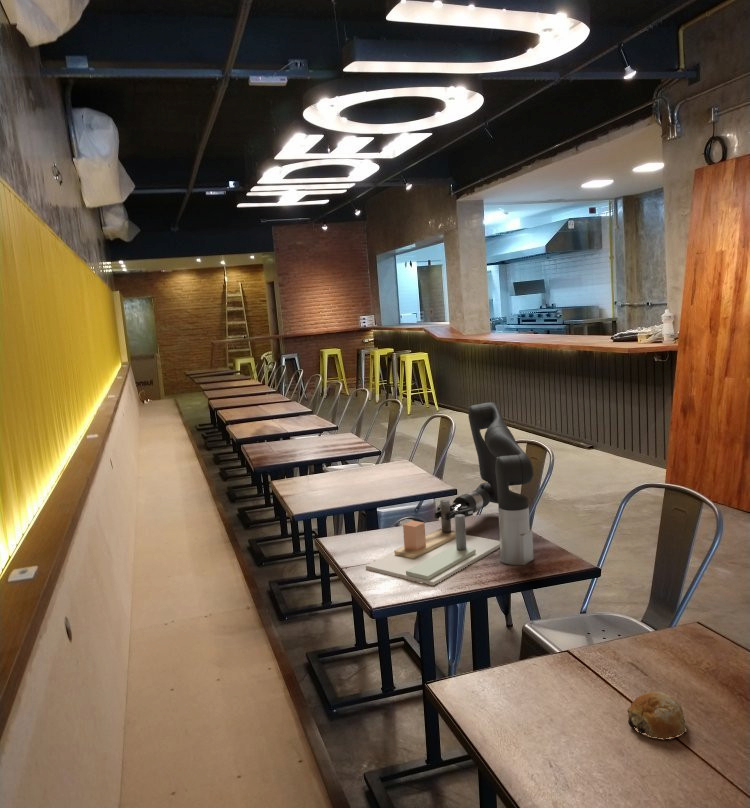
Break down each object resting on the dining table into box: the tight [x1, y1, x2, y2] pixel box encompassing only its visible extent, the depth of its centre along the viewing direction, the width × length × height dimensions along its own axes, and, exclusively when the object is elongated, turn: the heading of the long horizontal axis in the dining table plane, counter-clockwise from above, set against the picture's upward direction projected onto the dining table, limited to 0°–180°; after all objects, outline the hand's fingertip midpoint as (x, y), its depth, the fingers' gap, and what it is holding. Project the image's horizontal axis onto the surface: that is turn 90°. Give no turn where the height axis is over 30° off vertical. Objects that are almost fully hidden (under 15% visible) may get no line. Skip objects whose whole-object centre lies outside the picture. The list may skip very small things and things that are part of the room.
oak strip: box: [393, 499, 456, 559], centre depth 235 cm, size 8×26×12 cm, turn 140°
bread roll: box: [626, 691, 687, 739], centre depth 132 cm, size 10×10×8 cm
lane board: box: [365, 534, 500, 586], centre depth 228 cm, size 26×40×1 cm, turn 140°
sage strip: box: [406, 514, 476, 580], centre depth 217 cm, size 8×26×12 cm, turn 140°
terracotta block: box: [402, 520, 426, 551], centre depth 230 cm, size 5×5×8 cm
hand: (441, 516), depth 241 cm, fingers open, 3 cm apart
